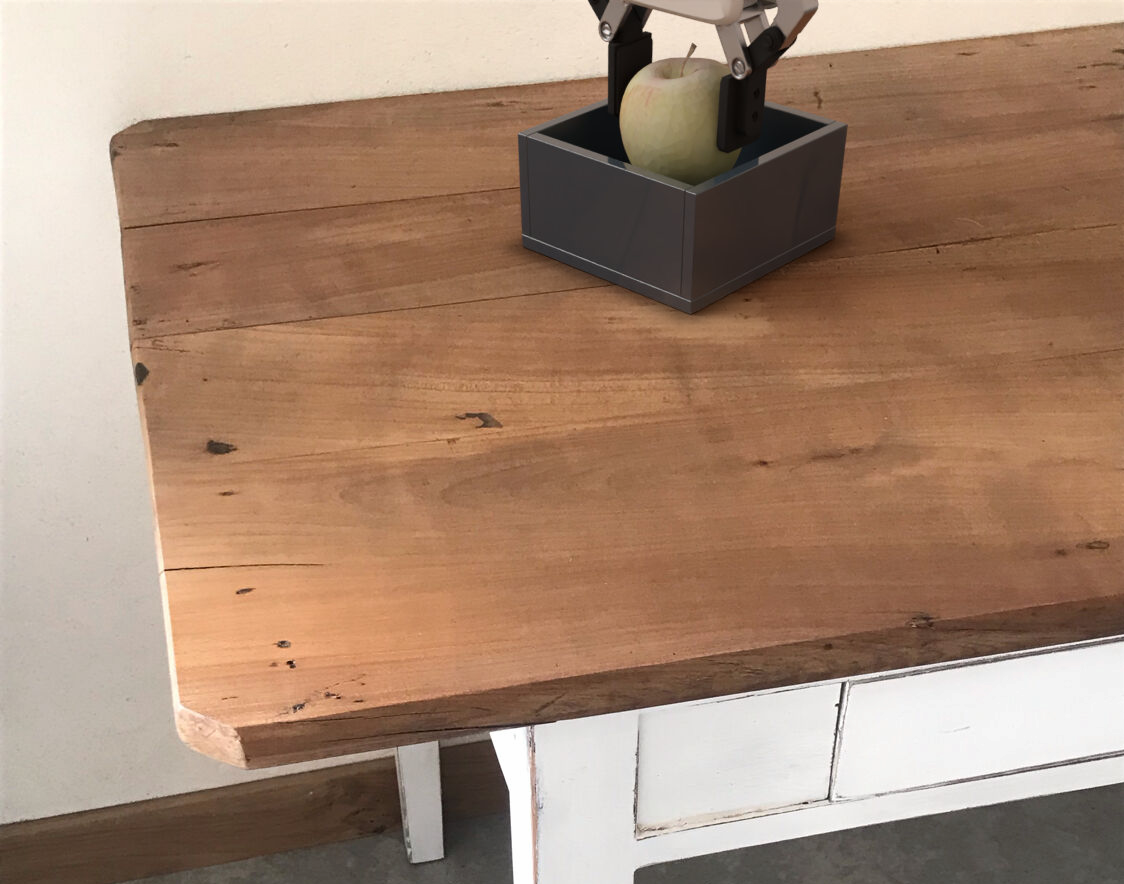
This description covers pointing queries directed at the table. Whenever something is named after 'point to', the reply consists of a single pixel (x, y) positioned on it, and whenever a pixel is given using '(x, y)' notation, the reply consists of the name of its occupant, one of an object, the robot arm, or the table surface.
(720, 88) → the robot arm
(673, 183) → the dark grey open box
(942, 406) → the table surface
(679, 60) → the fruit
